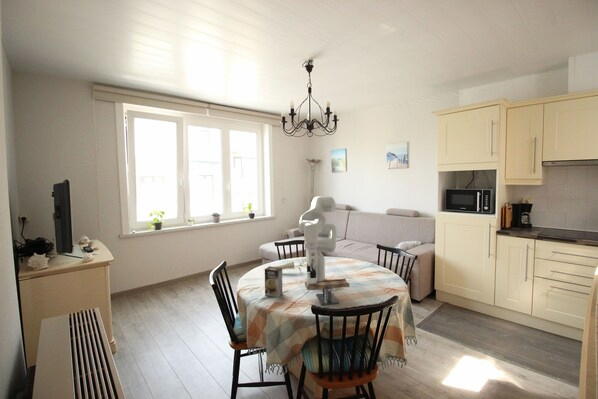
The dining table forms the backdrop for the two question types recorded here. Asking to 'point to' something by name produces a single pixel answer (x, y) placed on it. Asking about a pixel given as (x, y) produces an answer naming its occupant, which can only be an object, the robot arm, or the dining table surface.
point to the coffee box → (273, 281)
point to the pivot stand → (327, 297)
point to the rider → (310, 280)
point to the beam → (324, 283)
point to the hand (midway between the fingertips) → (311, 274)
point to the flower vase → (288, 265)
